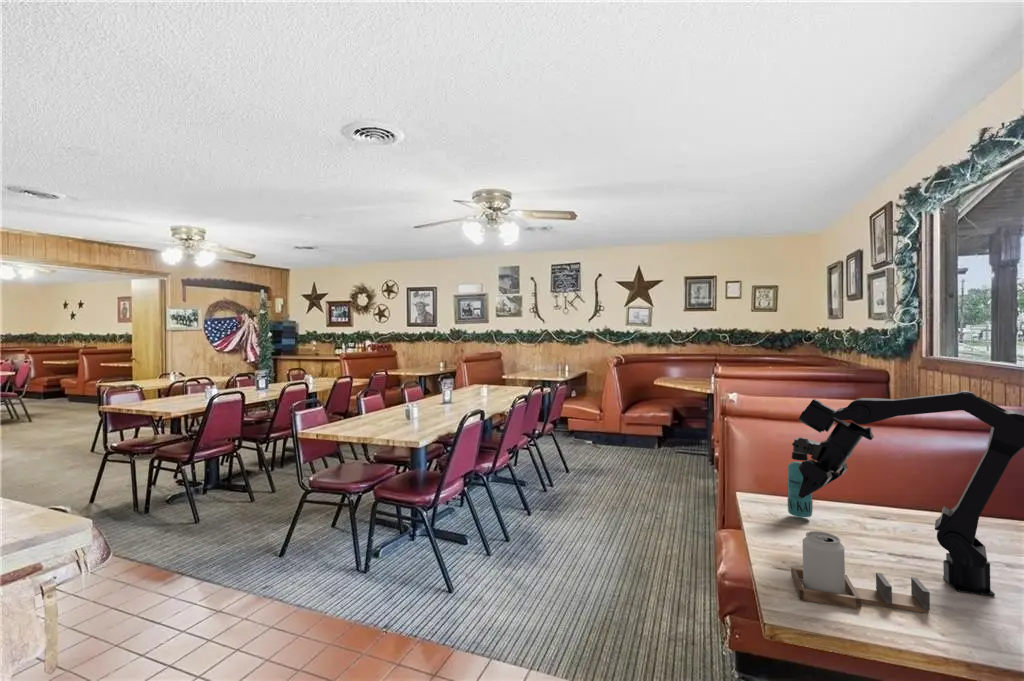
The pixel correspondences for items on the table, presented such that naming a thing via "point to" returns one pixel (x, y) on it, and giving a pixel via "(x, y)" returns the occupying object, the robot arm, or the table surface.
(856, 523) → the table surface
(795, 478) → the beverage bottle
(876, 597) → the wooden frame
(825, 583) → the can
